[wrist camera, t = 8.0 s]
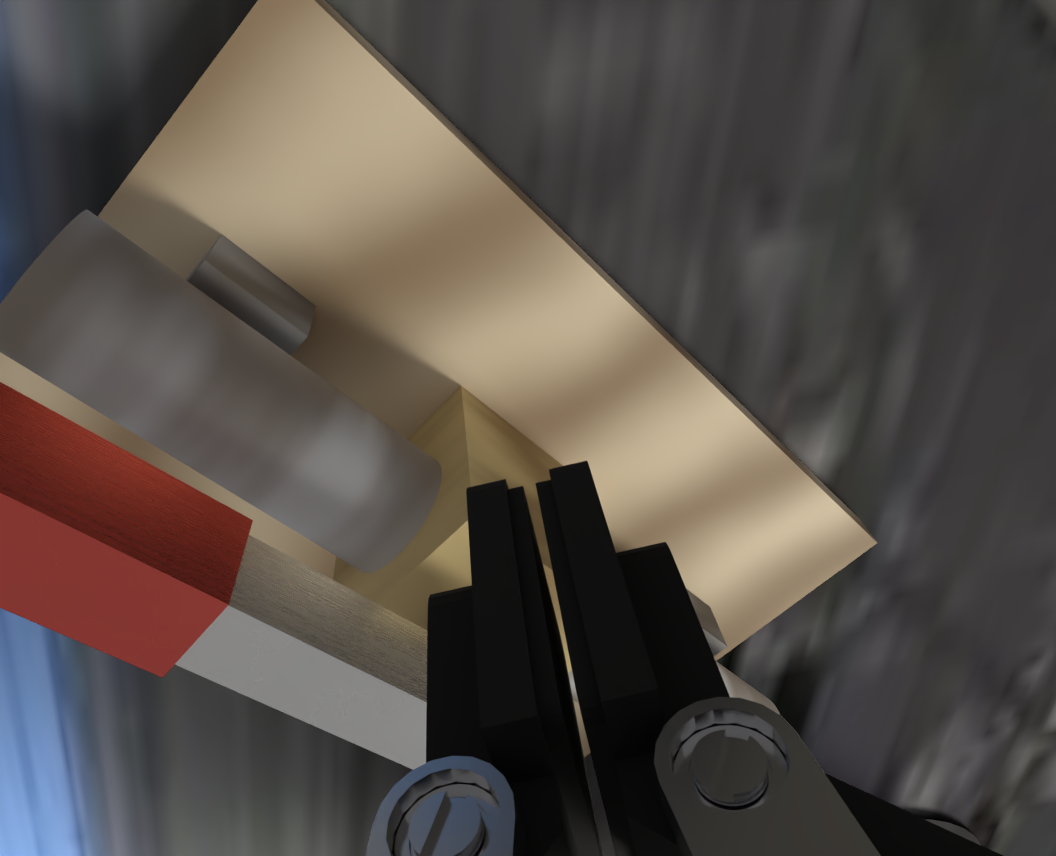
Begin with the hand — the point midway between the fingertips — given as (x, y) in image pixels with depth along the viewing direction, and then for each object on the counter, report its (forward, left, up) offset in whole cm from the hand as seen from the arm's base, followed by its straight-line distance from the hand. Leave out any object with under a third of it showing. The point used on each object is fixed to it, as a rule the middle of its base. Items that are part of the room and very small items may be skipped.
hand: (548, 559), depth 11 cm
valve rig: (-5, +6, -14) cm, 17 cm away
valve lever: (0, +7, -5) cm, 8 cm away
